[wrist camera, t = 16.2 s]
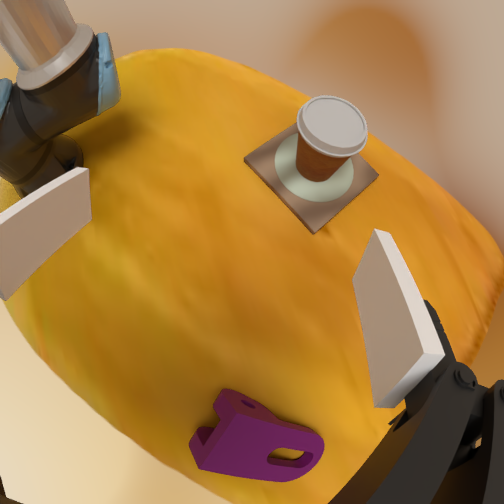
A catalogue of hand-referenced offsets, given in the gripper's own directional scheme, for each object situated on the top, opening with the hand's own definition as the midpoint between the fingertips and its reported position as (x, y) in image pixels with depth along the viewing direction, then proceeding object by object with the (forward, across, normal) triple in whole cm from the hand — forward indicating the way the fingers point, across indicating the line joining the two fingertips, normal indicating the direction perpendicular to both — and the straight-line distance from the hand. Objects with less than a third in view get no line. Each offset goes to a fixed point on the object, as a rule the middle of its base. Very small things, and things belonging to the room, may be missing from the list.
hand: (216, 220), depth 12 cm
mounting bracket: (+6, +9, -36) cm, 38 cm away
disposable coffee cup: (+35, +8, -5) cm, 36 cm away
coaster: (+36, +8, -6) cm, 37 cm away
